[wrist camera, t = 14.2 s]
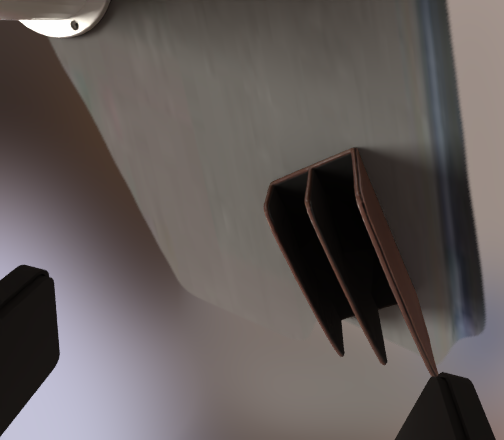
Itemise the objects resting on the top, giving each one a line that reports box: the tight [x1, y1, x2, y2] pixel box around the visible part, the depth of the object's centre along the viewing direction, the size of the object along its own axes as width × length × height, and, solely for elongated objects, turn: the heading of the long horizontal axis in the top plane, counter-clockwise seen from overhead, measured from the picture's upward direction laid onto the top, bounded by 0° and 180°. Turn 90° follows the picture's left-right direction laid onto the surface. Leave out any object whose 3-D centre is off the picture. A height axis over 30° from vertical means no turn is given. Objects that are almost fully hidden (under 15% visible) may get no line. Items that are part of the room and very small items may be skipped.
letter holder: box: [264, 148, 438, 377], centre depth 39 cm, size 10×20×14 cm, turn 27°
